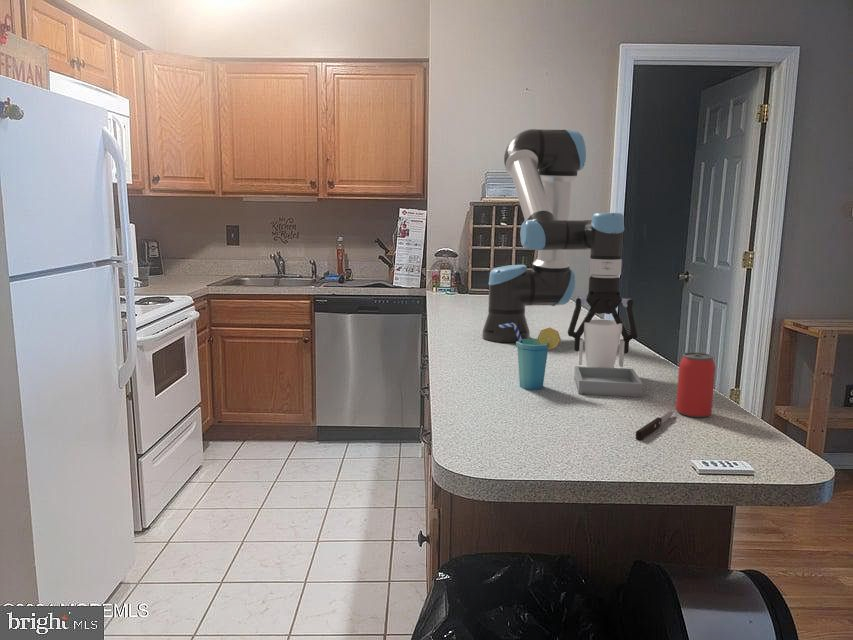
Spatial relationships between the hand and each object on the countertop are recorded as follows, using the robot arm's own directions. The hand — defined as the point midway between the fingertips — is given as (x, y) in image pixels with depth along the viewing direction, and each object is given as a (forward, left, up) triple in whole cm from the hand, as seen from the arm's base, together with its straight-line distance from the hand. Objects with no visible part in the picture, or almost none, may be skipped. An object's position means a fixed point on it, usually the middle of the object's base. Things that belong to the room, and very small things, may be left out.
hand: (600, 364), depth 155 cm
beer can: (+30, +15, -2) cm, 34 cm away
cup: (+16, -18, -2) cm, 24 cm away
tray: (+13, 0, -2) cm, 14 cm away
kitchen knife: (+40, +6, -3) cm, 41 cm away
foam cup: (0, 0, -2) cm, 2 cm away
